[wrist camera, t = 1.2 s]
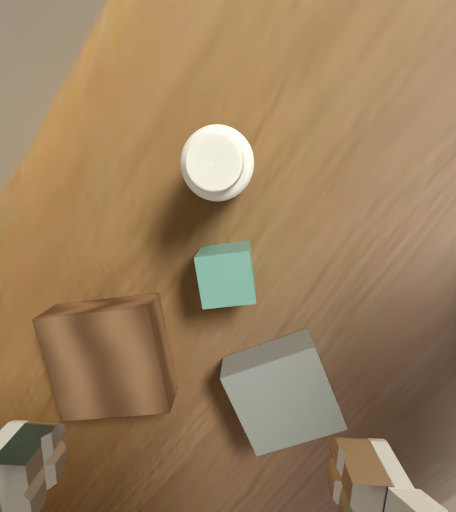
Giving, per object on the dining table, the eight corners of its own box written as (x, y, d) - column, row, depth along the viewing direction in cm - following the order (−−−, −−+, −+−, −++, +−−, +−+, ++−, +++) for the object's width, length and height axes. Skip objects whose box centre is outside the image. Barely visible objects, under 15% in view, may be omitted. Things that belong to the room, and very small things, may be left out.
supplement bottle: (208, 204, 32) (190, 215, 22) (187, 150, 31) (159, 137, 21) (261, 184, 31) (266, 187, 22) (241, 128, 30) (237, 103, 20)
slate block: (307, 328, 35) (314, 346, 31) (337, 403, 36) (348, 429, 33) (222, 357, 36) (219, 378, 32) (256, 428, 38) (256, 456, 34)
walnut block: (158, 292, 35) (147, 307, 31) (177, 389, 37) (169, 413, 34) (55, 304, 36) (32, 319, 32) (81, 397, 39) (62, 421, 35)
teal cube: (249, 240, 33) (249, 250, 28) (255, 286, 34) (256, 303, 29) (201, 246, 33) (193, 257, 28) (209, 291, 34) (202, 309, 30)
